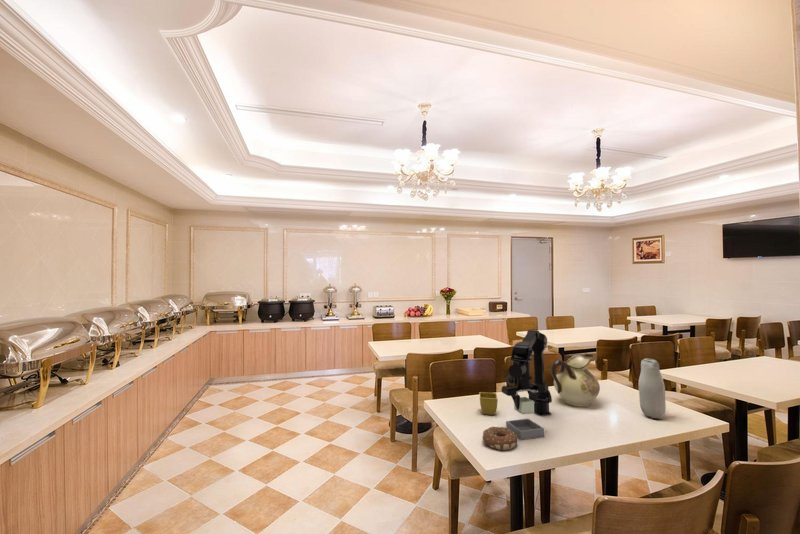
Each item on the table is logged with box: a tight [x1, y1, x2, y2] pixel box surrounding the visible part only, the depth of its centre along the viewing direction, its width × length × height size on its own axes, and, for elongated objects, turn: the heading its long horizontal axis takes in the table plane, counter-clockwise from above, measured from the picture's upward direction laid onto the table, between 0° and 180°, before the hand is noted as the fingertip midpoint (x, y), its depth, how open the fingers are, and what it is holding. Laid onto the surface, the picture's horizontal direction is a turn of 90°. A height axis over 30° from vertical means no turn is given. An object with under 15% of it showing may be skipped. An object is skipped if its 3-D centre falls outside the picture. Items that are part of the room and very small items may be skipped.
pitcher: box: [550, 353, 601, 408], centre depth 186 cm, size 22×24×25 cm
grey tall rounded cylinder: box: [637, 357, 667, 419], centre depth 166 cm, size 10×10×28 cm
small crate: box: [513, 396, 535, 415], centre depth 150 cm, size 6×6×5 cm
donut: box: [482, 426, 519, 451], centre depth 140 cm, size 14×14×5 cm
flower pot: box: [478, 391, 499, 416], centre depth 173 cm, size 9×9×9 cm
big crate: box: [505, 418, 545, 441], centre depth 150 cm, size 11×11×4 cm
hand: (524, 408), depth 150 cm, fingers closed on small crate, 6 cm apart
